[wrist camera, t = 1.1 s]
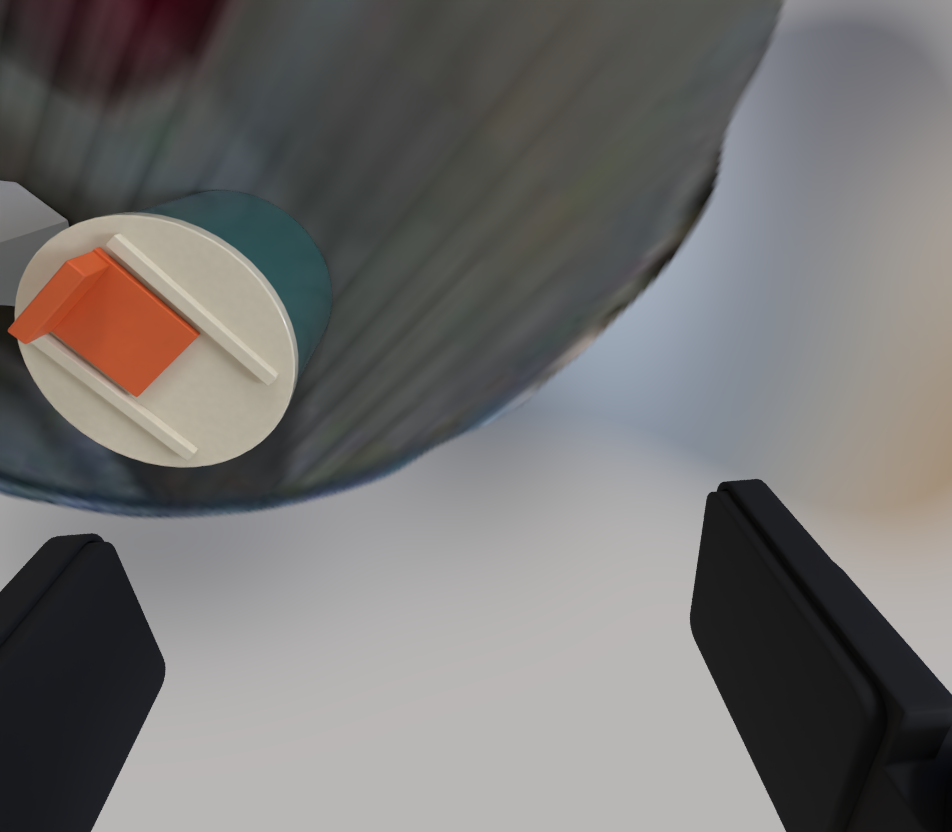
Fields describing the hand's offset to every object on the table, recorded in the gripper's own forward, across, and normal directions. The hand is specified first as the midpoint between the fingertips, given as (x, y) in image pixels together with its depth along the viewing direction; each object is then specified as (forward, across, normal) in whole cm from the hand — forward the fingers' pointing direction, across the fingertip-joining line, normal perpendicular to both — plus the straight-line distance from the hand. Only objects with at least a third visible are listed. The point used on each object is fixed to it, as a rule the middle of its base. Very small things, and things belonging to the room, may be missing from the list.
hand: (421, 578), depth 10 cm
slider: (+17, +13, 0) cm, 21 cm away
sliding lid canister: (+28, +12, +2) cm, 30 cm away
